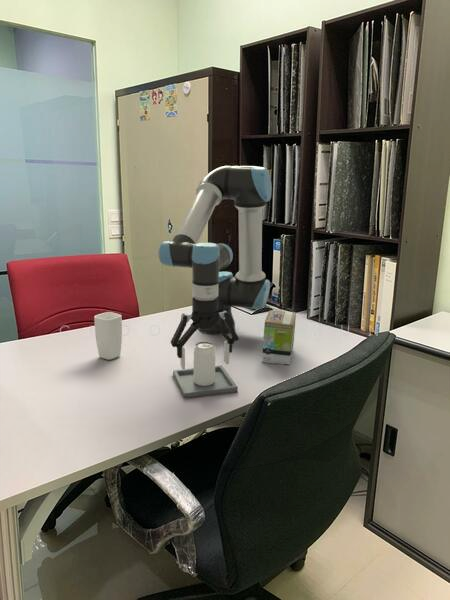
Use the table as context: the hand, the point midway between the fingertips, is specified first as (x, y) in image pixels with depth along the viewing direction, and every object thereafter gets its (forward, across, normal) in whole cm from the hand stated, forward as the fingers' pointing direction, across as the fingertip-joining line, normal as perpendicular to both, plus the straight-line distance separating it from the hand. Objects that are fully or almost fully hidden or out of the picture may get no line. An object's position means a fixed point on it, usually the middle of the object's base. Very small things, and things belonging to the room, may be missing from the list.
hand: (204, 364), depth 140 cm
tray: (+6, 0, 0) cm, 6 cm away
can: (+6, 0, 0) cm, 6 cm away
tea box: (+7, +31, +15) cm, 35 cm away
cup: (+6, -26, +28) cm, 39 cm away
